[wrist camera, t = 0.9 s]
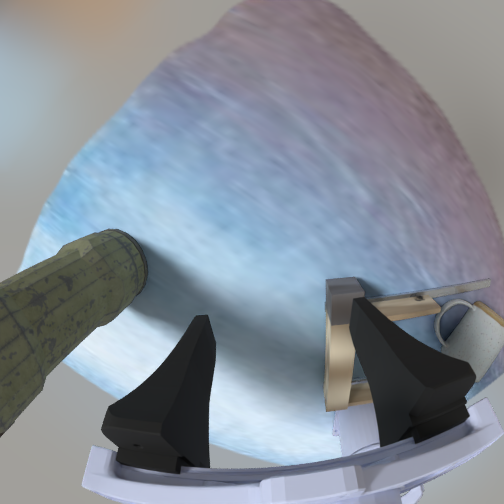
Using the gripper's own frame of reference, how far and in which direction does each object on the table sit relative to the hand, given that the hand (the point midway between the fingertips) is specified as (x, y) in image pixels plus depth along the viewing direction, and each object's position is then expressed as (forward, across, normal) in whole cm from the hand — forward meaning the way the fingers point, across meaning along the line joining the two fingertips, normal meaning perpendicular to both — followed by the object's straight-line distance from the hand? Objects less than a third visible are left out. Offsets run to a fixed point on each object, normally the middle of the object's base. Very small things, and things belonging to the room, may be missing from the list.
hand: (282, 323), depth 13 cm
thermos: (+16, +18, +4) cm, 24 cm away
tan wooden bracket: (+10, -11, +13) cm, 20 cm away
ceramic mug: (+9, -24, +15) cm, 30 cm away
